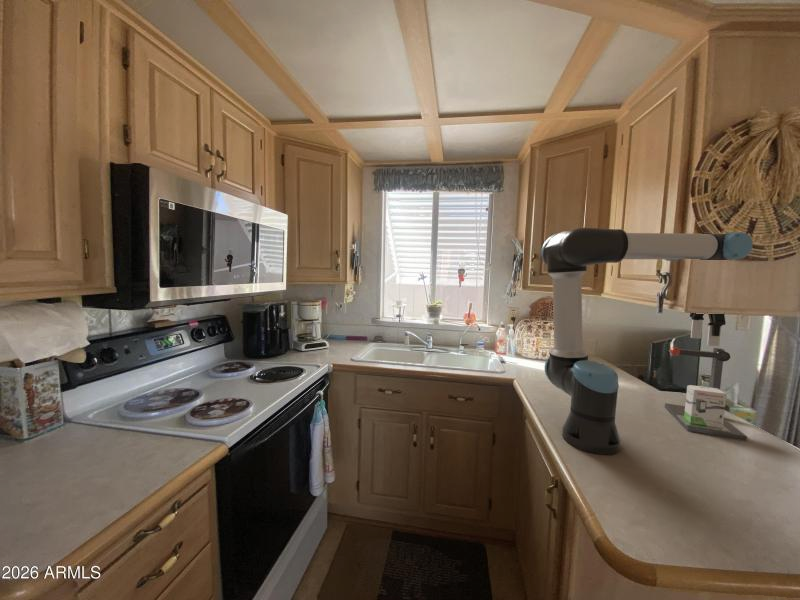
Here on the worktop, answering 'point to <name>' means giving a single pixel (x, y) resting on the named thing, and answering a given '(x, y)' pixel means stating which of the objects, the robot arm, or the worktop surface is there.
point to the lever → (701, 353)
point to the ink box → (705, 406)
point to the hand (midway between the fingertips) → (703, 341)
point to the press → (726, 431)
